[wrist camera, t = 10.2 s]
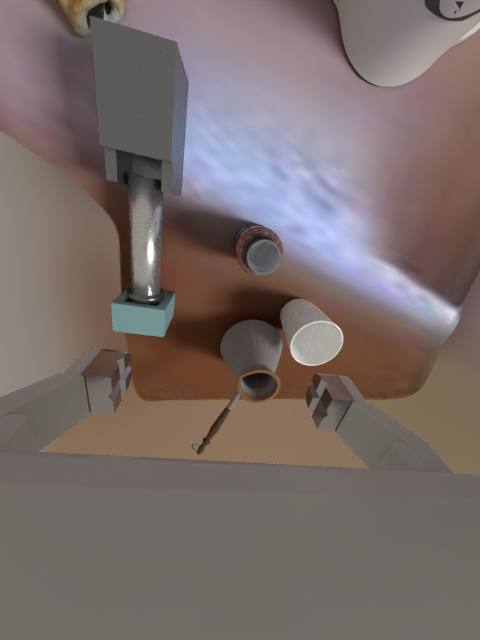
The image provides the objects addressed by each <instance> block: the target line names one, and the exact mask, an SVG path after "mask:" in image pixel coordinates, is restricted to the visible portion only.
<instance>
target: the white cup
mask: <svg viewBox="0 0 480 640" xmlns="http://www.w3.org/2000/svg"><path fill="white" fill-rule="evenodd" d="M280 321H281V324H282V329H283V332H284V335H285V338H286V341H287V344H288V346H289V349H290V352H291V355H292V356H293V358H294V359H295V360H296V361H297V362H299V363H301V364H304V365H309V366H314V365H320V364H323V363H325V362H327V361H329V360H331V359H332V358H333V357H334V356H336V354H337V353H338V352H339V351H340V349H341V347H342V344H343V334H342V331H341V330H340V328H339V327H338V326H337V325H336V324H335V323H334V322H333V321H332V320H331V319H330V318H329V317H328V316H326V315H325V314H324V313H323V312H322V311H321V310H320V309H319V308H317V307H316V306H314V305H313V304H312V303H311V302H310V301H308V300H306V299H303V298H301V299H294V300H292V301H290V302H288V303H286V305H285V306H284V307H283V308H282V310H281V313H280Z"/></svg>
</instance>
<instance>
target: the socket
mask: <svg viewBox="0 0 480 640" xmlns="http://www.w3.org/2000/svg"><path fill="white" fill-rule="evenodd" d="M130 287H131V286H130ZM174 302H175V292H170V291H164V299H163V300H162V301H161V302H160V304H159V306H152V305H145V304H138V303H132V301H130V300H129V299H128V298H127V290H125V291H124V292H123V293H122V294H121V295H120V296H119V297H117V298H116V299H115V300H114V301H113V302H112V303H111V308H112V322H113V331H119V332H126V333H134V334H142V335H150V336H158V337H164V335H165V333H166V331H167V329H168V327H169V325H170V322H171V320H172V318H173V316H174Z"/></svg>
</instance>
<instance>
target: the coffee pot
mask: <svg viewBox="0 0 480 640" xmlns="http://www.w3.org/2000/svg"><path fill="white" fill-rule="evenodd" d="M282 346H283V344H282V338H281V336H280V334H279V332H278V331H277V330H276V329H275V328H274V327H273V326H272V325H270V324H268V323H267V322H264V321H260V320H245V321H241V322H239V323H237V324H235V325H233V326H232V327H231V328H230V329H229V330H227V332H226V333H225V335H224V336H223V338H222V341H221V344H220V349H221V354H222V357H223V359H224V361H225V362H226V364H227V365H228V366H229V367H230V369H231V370H232V371H233V373H234V374H235V375H236V376H237V378H238V381H237V392H236V393H235V395H234V396H233V398H232V399H231V401H230V402H229V404H228V406H227V407H226V408H225V409H224V410H223V412H222V413H221V414H220V416H219V417H218V418H217V420H216V421H215V422H214V424H213V425H212V426H211V428H210V431H209V433H208V435H207V437H206V438H203V443H202V445H200V446H199V445H197V444H192V449H193V450H194V451H196V450H195V449H194V448H193V445H196V446H198V447H199V448H198V451H196V452H197V454H198V455H199V454H202V453H203V452H204V448H205V446H206V445H208V444H210V439H211V438H212V437H213V436H214V435H215V434H216V433H217V432H218V430H219V429H220V427H221V425H222V423H223V422H224V420H225V419H226V417H227V415H228V414H229V412H230V410H231V408H232V407H233V405H234V404H235V402H236V401H237V400H238V398H239V397H241V398H243V399H244V400H246V401H248V402H253V403H260V402H265V401H268V400H270V399H272V398H273V397H275V395H276V394H277V393H278V391H279V389H280V385H281V383H280V379H279V377H278V376H277V375H276V374H275V371H276V368H277V365H278V362H279V358H280V355H281V352H282ZM202 451H203V452H202Z"/></svg>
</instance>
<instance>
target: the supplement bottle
mask: <svg viewBox="0 0 480 640" xmlns="http://www.w3.org/2000/svg"><path fill="white" fill-rule="evenodd" d="M234 248H235V253H236V257H237V260H238V263H239V265H240V266H241V268H242V269H243V270H244V271H245V272H247V273H249V274H251V275H254V276H264V275H267V274H269V273H271V272H273V271H274V270H275V269H276V268H277V267H278V266H279V264H280V262H281V260H282V257H283V245H282V242H281V240H280V238H279V237H278V235H277V234H276V233H274V232H273V231H272V230H270V229H268V228H266V227H264V226H262V225H259V224H247V225H245V226H243V227H242V228H241V229H240V230H239V231H238V232H237V234H236V236H235V240H234Z"/></svg>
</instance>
